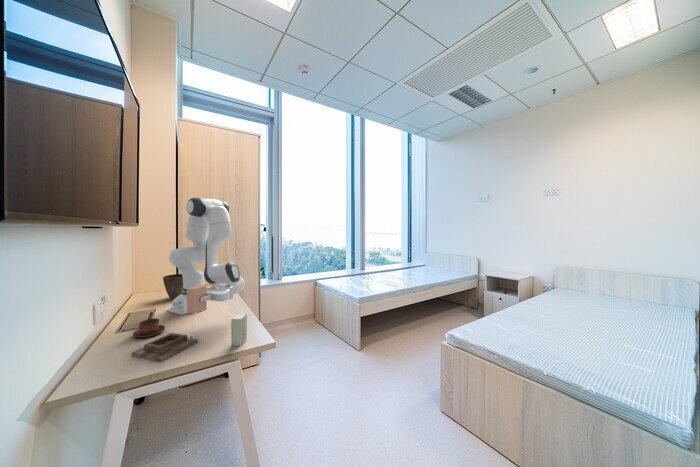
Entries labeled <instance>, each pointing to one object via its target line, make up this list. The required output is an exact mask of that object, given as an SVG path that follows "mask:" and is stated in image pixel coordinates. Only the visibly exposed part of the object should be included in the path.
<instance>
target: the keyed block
mask: <svg viewBox="0 0 700 467" xmlns="http://www.w3.org/2000/svg"><path fill="white" fill-rule="evenodd" d="M206 288H207V285H197V286H194V287H190V288H187V314H197V313H199V311H200V312H203V311H205V310H207V309H208V308H207V306H208V305H207V303H208V300H207V301H202V302H201V301H199V298H200V297H204V296H206ZM204 309H205V310H204ZM202 310H203V311H202Z"/></svg>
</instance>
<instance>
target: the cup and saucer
mask: <svg viewBox="0 0 700 467" xmlns="http://www.w3.org/2000/svg"><path fill="white" fill-rule="evenodd" d="M138 328H139V329H136V330H135V331H133V332H132V336H133V337H134V338H139V339H141V338H149V337H153V336H156V335H159V334H160V333H162V332H164V330H165V328H166V326H165V325H164V324H163V325H162V324H160V319H159V318H149V319H143V320H142V321H140V322H139V323H138Z"/></svg>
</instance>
